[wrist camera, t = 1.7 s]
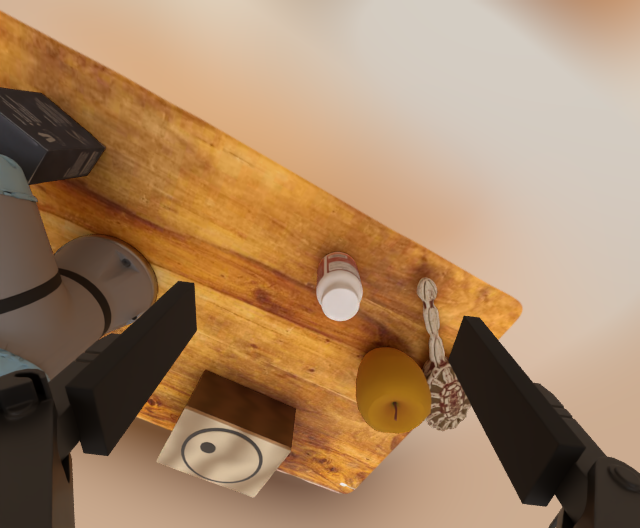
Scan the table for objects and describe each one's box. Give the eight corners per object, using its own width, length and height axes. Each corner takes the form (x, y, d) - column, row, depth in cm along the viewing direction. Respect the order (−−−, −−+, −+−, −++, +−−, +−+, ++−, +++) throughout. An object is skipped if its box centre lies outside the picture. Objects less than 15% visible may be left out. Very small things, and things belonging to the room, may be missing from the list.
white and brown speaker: (178, 419, 60) (154, 463, 52) (205, 369, 55) (183, 409, 47) (263, 453, 64) (253, 499, 56) (296, 408, 59) (290, 452, 50)
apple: (402, 322, 50) (425, 379, 38) (422, 369, 54) (449, 434, 42) (342, 345, 52) (346, 406, 40) (365, 388, 56) (376, 455, 44)
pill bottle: (334, 293, 49) (336, 335, 38) (309, 266, 47) (304, 302, 37) (365, 271, 47) (375, 308, 37) (341, 242, 45) (344, 273, 35)
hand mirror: (383, 290, 44) (415, 431, 55) (415, 302, 39) (443, 454, 50) (430, 260, 48) (451, 396, 59) (465, 267, 43) (480, 414, 54)
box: (24, 126, 40) (-61, 122, 31) (42, 91, 38) (-42, 78, 30) (88, 177, 42) (25, 187, 34) (108, 147, 41) (47, 149, 32)
